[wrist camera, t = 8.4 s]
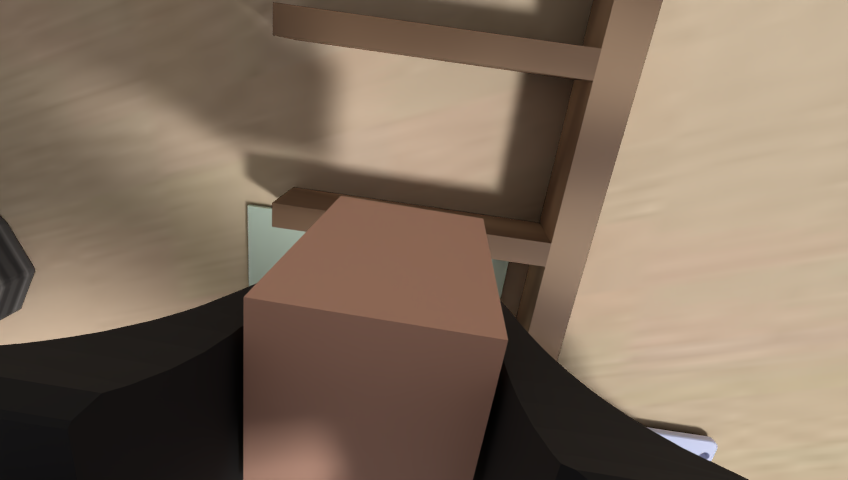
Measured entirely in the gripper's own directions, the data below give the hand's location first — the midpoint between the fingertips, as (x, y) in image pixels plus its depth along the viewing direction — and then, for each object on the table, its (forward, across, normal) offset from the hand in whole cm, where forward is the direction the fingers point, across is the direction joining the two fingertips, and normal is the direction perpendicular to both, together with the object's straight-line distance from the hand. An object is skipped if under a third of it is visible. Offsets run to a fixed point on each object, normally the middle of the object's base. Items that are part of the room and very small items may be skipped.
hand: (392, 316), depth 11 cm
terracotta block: (+2, 0, 0) cm, 2 cm away
